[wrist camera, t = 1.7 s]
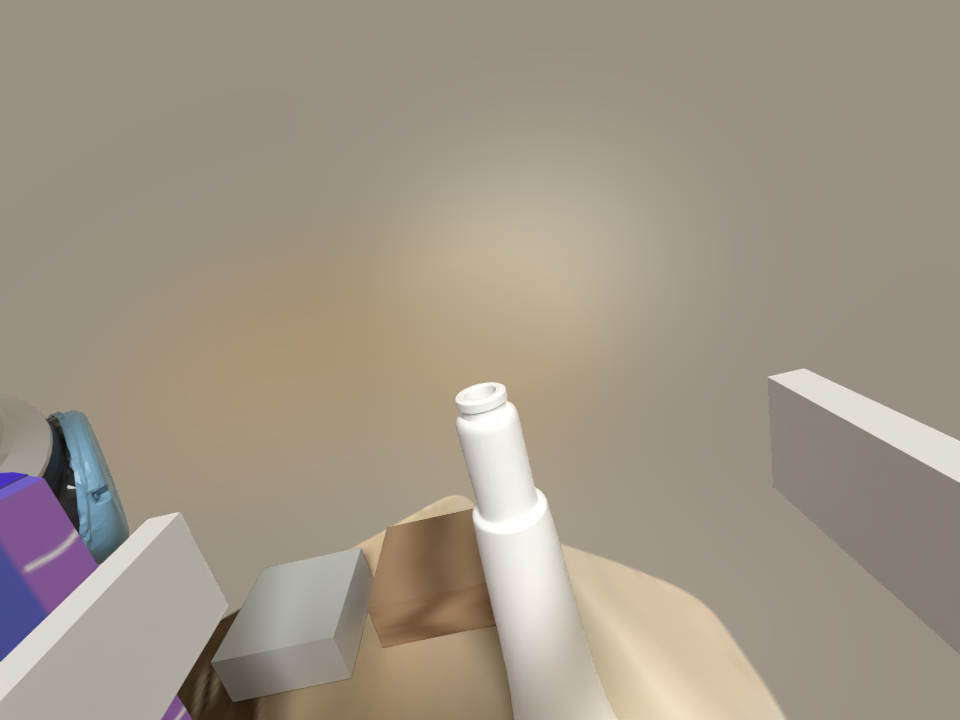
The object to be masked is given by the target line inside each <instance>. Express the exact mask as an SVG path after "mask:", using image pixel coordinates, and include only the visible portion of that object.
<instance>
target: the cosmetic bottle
mask: <svg viewBox="0 0 960 720" xmlns="http://www.w3.org/2000/svg"><path fill="white" fill-rule="evenodd" d="M506 399H507V393H506V389H505V386H504V385H502V384H500V383H494V382H489V383H482V384H477V385H474V386H471V387H469V388H466V389H464V390H463V391H461V392H460V393H459V394H458V395H457V396H456V398H455V401H456V405H457V409H458V410H459V411H460V412H461V413H460V414H459V415H458V417H457V420H456V429H457V433H458V436H459V440H460V444H461V447H462V451H463V454H464V458H465V461H466V464H467V468H468V472H469V476H470V479H471V483H472V486H473V490H474V493H475V497H476V501H477V503H476V505H475V506H474V509H473V512H472V519H473V524H474V529H475V534H476V539H477V543H478V548H479V553H480V558H481V562H482V566H483V571H484V575H485V580H486V584H487V588H488V593H489V597H490V601H491V605H492V610H493V614H494V618H495V623H496V627H497V631H498V635H499V640H500V644H501V649H502V653H503V658H504V662H505V667H506V672H507V677H508V682H509V688H510V694H511V701H512V707H513V716H514V720H617V718H616V715H615V713H614V711H613V709H612V707H611V705H610V703H609V701H608V698H607V696H606V694H605V692H604V689H603V687H602V684H601V681H600V679H599V676H598V673H597V670H596V667H595V664H594V661H593V658H592V655H591V652H590V649H589V645H588V642H587V639H586V636H585V632H584V629H583V625H582V622H581V618H580V615H579V611H578V607H577V604H576V600H575V596H574V593H573V589H572V586H571V582H570V578H569V575H568V571H567V567H566V564H565V560H564V556H563V553H562V549H561V546H560V542H559V539H558V535H557V532H556V529H555V526H554V522H553V519H552V515H551V512H550V509H549V506H548V502H547V499H546V497H545V495H544V494H543V493H542V492H541V491H540V490H539V489H537V488H535V486H534V481H533V477H532V473H531V468H530V464H529V460H528V455H527V451H526V446H525V442H524V438H523V433H522V429H521V425H520V420H519V416H518V412H517V410H516V408H515V406H514V405H513V404H512V403H510V402H508V401H506Z"/></svg>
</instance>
